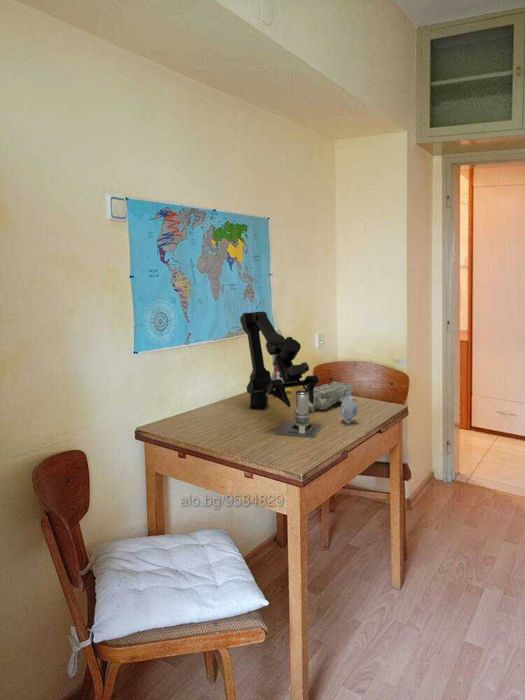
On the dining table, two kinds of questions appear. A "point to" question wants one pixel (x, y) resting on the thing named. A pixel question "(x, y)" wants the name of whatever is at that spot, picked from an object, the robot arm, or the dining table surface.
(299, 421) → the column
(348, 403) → the toy figure
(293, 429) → the stand base
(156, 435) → the dining table surface
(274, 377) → the toy rocket
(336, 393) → the stone
